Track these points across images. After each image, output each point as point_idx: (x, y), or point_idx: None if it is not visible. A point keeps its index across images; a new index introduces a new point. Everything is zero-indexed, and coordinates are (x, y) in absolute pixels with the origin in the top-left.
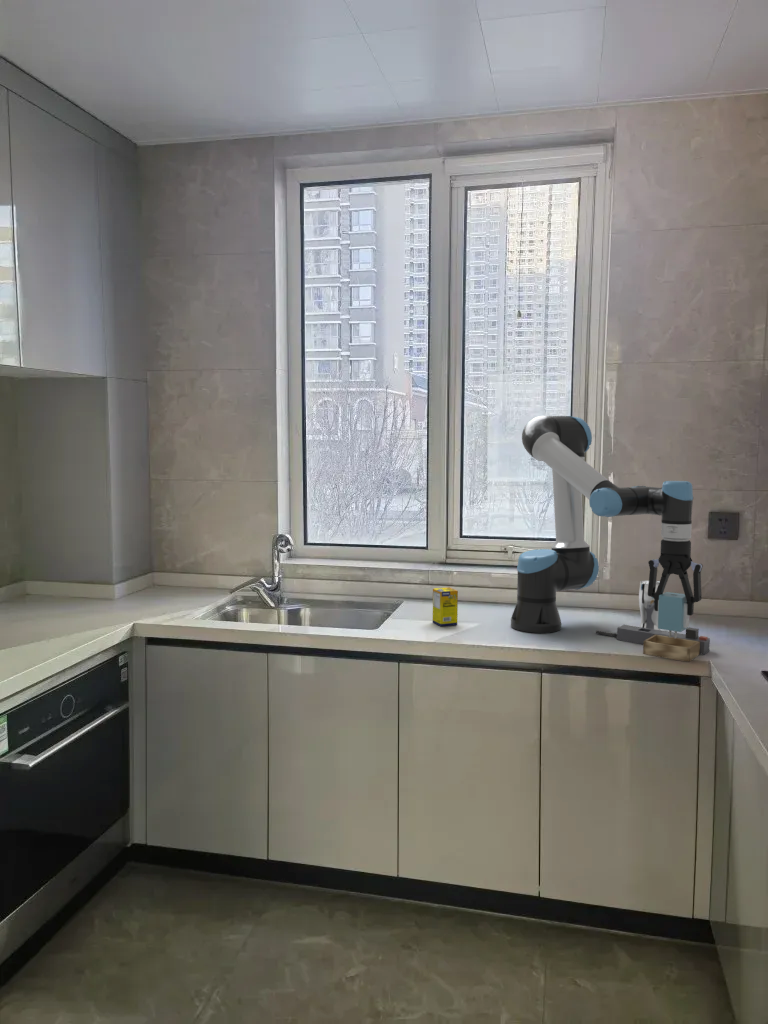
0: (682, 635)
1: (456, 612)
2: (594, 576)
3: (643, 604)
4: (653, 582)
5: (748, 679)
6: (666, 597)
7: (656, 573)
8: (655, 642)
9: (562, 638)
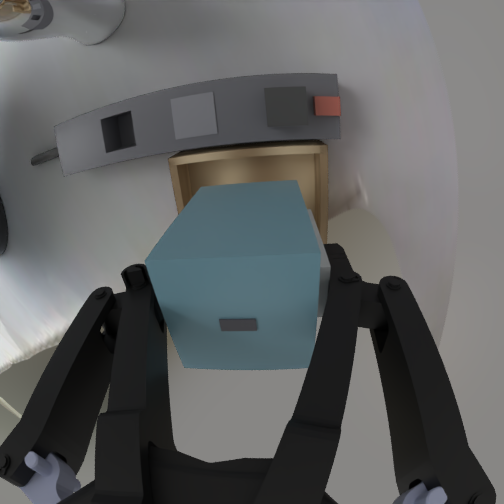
0: (244, 100)
1: None
2: None
3: (31, 39)
4: (104, 384)
5: (439, 271)
6: (225, 364)
7: (63, 407)
8: (184, 168)
9: (35, 246)
